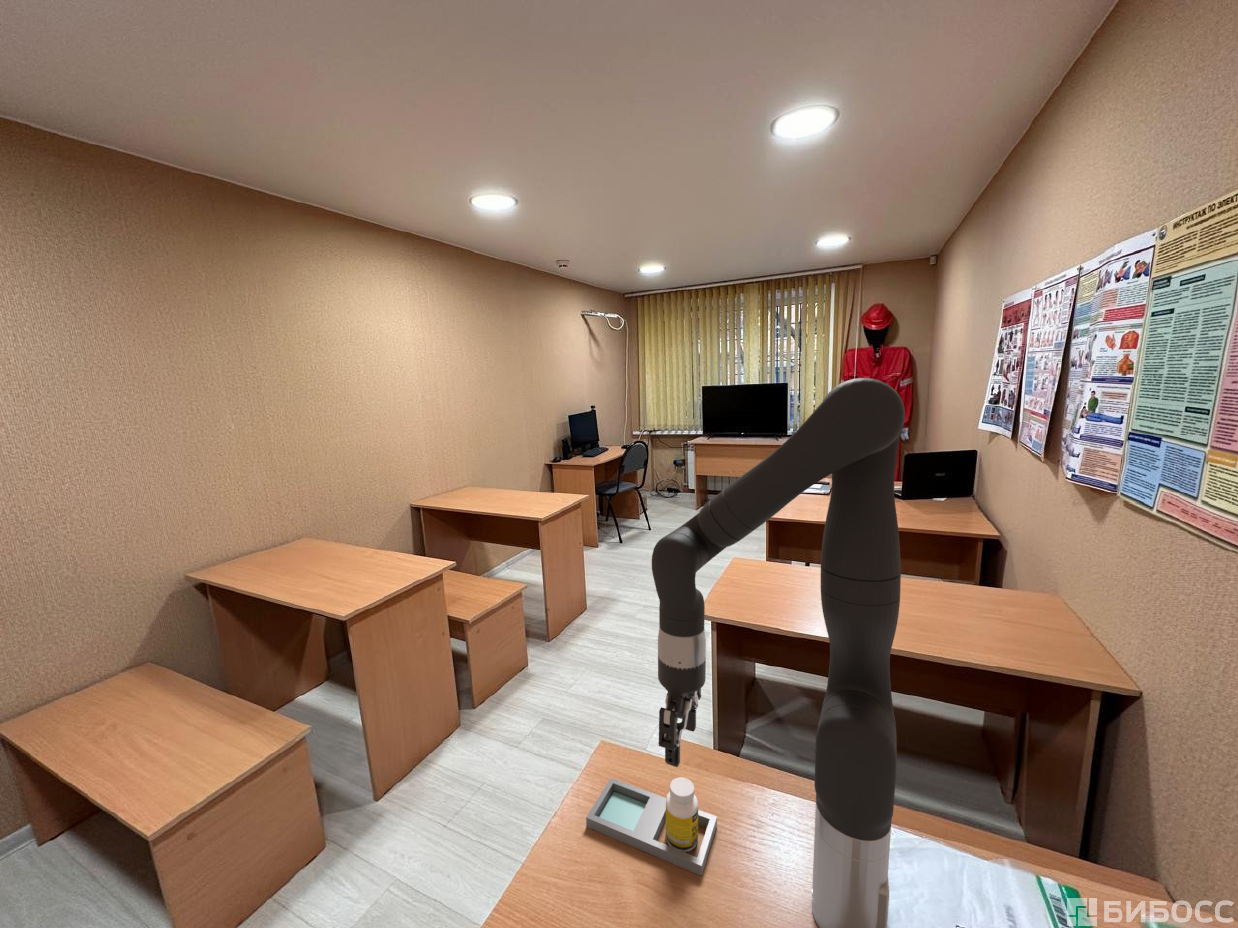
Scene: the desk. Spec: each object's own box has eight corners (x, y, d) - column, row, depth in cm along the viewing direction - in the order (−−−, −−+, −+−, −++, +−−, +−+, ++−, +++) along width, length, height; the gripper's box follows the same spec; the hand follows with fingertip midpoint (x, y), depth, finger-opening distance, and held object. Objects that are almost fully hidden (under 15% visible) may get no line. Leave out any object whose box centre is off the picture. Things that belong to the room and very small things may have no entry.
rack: (716, 825, 82) (717, 816, 81) (701, 875, 73) (701, 865, 73) (611, 785, 90) (610, 777, 90) (586, 826, 82) (586, 817, 82)
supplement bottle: (697, 856, 76) (697, 802, 75) (664, 850, 77) (663, 797, 76) (698, 826, 82) (698, 775, 80) (667, 821, 83) (667, 771, 81)
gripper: (691, 683, 67) (690, 785, 69) (716, 636, 79) (715, 724, 82) (642, 670, 70) (643, 769, 72) (674, 628, 83) (673, 712, 85)
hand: (681, 745), depth 77 cm, fingers open, 8 cm apart
